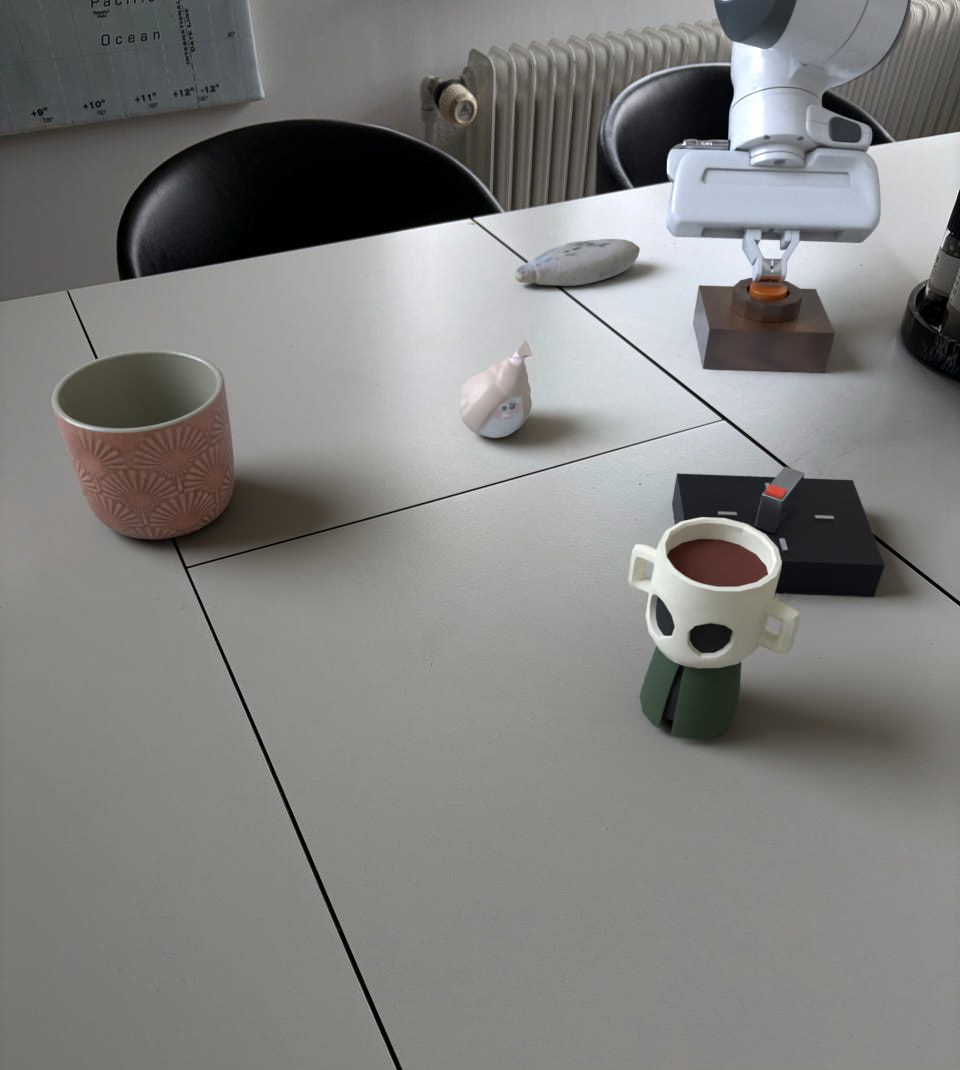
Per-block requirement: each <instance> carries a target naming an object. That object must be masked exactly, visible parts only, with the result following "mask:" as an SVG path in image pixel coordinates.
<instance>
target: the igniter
mask: <svg viewBox="0 0 960 1070" xmlns="http://www.w3.org/2000/svg"><path fill="white" fill-rule="evenodd" d="M752 282H753V276H752V277H748V278H744V279H740V280H738V282H736V284H734V285H733V286H731V285H704V284H703V285H702V284H701V285H698V287H697V294H696V301H695V307H694V314H693V319H692V325H693V326H692V327H693V330H694V335H695V339H696V340H695V341H696V344H697V349H698V353H699V357H700V362H701V366H702V367H701V368H702V369H704V370H705V369H706V370H729V371H730V370H731V371H732V370H734V371H760V372H761V371H763V372H764V371H765V372H792V373H820V374H821V373H822V374H824V373H825V374H826V371H827V367H828V363H829V359H830V356H831V351H832V348H833V343H834V340H835V336H836V331H835V329H834V327H833V325H832V322H831V320H830V318H829V315H828V313H827V311H826V308H825V307H824V304H823V302H822V299H821V298H820V295H819V293H818V291H817V288H800V287H799V286H796V285H795V284H793V283H791V282H790V281H788V280H784V282H783V283H782V284H784V285H785V286H786V287H787V289H788V290H787V295H786V298H784V299H780V300H765V299H761V298H757V297H754V296H752V295H751V294H749V289H750V285H751V283H752Z"/></svg>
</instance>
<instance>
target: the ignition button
mask: <svg viewBox="0 0 960 1070" xmlns="http://www.w3.org/2000/svg"><path fill="white" fill-rule="evenodd" d="M787 290H788V289H787V287H786V286H785V285H784V284H782V283H775V282H752V283H751V285H750V289H749V294H751V295H752V296H754V297H757V298H761V299H765V300H780V299H784V298H786V295H787Z"/></svg>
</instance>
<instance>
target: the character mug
mask: <svg viewBox="0 0 960 1070" xmlns="http://www.w3.org/2000/svg"><path fill="white" fill-rule="evenodd" d="M631 551H632V552H631V555H630V562H629V563H630V564H629V569H628V570H629V571H628V578H627V580H628V585H629V586H630V587H631V588H632V589H634V590H636V591H637V592H640V593H642V594H645V595H647V604H646V609H645V620H646V625H647V632H648V634H649V636H650V637H651V640H653V642H654V643H655V645H656V646H655V648H654V651H653V653H652V657H651V659H650V661H649V665H648V666H647V670H646V673H645V676H644V679H643V682H642V686H641V690H640V693H639V699H640V706H641V711H642V713H643V715H644V716H645V717H646V718H647V719H648V720H649V723H651V724H652V725H653V726H654V727H656V728H658V729H659V728H660V724H661V720H662V717H663V716H664V717H666V718H667V719H668V720H671V721H672V726H671V730H670V735H672V736H673V737H675V738H682V739H689V740H702V739H706V738H712V737H716V736H719V735H720V734H721V733H722V732H723V731H724V730H725V729H726V728H728V727H729V726H730V725H731V724H733V722H734V719H735V717H736V714H737V711H738V709H739V702H740V701H739V700H740V693H741V677H742V662H743V661H744V660H745V659H747V658H749V657H750V656H751V655H752V654H754V653H755V651H756V650H758V648H759V647H762V648H765V649H766V650H769V651H771V652H773V653H775V654H780V655H787V654H789V653H790V652H791V650H792V649H793V646H794V644H795V643H794V642H795V639H796V636H797V634H798V633H797V632H798V629H799V625H800V623H801V618H800V611H799V610H797V609H796V608H795V607H794V606H792V605H789V604H787V603H784V602H782V601H780V600H777V599H775V594H776V593H775V591H776V587H777V583H778V579H779V575H780V572H781V566H782V561H781V557H780V554H779V550H778V547H777V546H776V545H775V544H774V543H773V542H772V541H771V540H770V539H769V538H768V536H767V535H766V534H764V533H762V532H760V531H759V530H757V529H755V528H753V527H751V526H750V525H748V524H745V523H741V522H737V521H734V520H730V519H726V518H708V517H700V518H695V519H691V520H686V521H681V522H679V523H678V524H676V525H675V524H673V526H671V527H668V528H667V529H666V530H665V531H664V533H663V534H662V537H661V538H660V540H659V542H658V545H657V547H656V548H655V547H653V546H650V545H648V544H643V543H637V544H635V545H634V547H633V548H632V550H631ZM646 564H649V565H651V566H653V569H652V575H651V578H649V577H647V576H646V575H645V571H646ZM769 617H771V618H773V619H776V620H778V621H779V622H781V623H780V624H781V625H780V627H779V631H778V634H776V633H774V632H772V631H769V630H768V629H767V624H768V620H769Z"/></svg>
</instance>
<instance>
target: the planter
mask: <svg viewBox="0 0 960 1070" xmlns="http://www.w3.org/2000/svg"><path fill="white" fill-rule="evenodd" d="M227 398H228V397H227V391H226V384H225V379H224V375H223V373H222V371H221V370H220V369H219V367H218V366H216V365H215V364H214V363H213V362H212V361H210V360H209V359H206V358H205V357H202V356H200V355H197V354H194V353H190V352H186V351H183V350H182V351H181V350H174V349H165V348H164V349H163V348H160V349H159V348H149V349H147V348H146V349H145V348H144V349H135V350H128V351H127V350H126V351H121V352H117V353H113V354H109V355H106V356H102V357H99V358H96V359H94V360H90V361H89V362H86V363H84V364H82V365H80V366H78V367H77V368H74V369H73V370H72V371H70V372H69V373H67V374H66V375H64V377H63V378H61V380H60V381H59V382H58V383H57V384H56V386H55V388H54V389H53V392H52V395H51V406H52V410H53V412H54V415H55V419H56V421H57V425H58V427H59V430H60V433H61V436H62V439H63V440H62V441H63V443H64V445H65V448H66V451H67V454H68V457H69V460H70V462H71V466H72V468H73V472H74V474H75V476H76V479H77V482H78V485H79V487H80V489H81V492H82V494H83V495H84V498H85V500H86V502H87V504H88V505H89V507H90V510H91V511H92V512H93V514H94V515H95V517H96V519H98V520H99V521H100V522H101V523H102V524H103V525H104V526H106V527H107V528H109V530H112V531H114V532H115V533H118V534H120V535H123V536H126V537H130V538H135V539H140V540H166V539H172V538H177V537H182V536H185V535H189V534H191V533H194V532H197V531H198V530H200V529H202V528H204V527H206V526H207V525H210V523H212V522H213V521H215V519H217V518H218V517H219V516H221V514H222V513H223V512H224V511H225V510H226V508H227V506H228V505H229V504H230V501H231V499H232V495H233V492H234V486H235V455H234V445H233V437H232V430H231V428H232V427H231V421H230V413H229V406H228V400H227Z"/></svg>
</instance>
